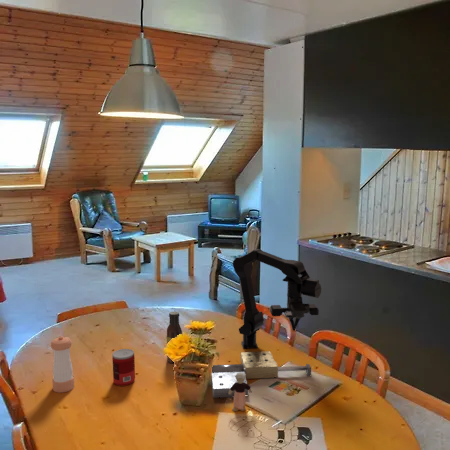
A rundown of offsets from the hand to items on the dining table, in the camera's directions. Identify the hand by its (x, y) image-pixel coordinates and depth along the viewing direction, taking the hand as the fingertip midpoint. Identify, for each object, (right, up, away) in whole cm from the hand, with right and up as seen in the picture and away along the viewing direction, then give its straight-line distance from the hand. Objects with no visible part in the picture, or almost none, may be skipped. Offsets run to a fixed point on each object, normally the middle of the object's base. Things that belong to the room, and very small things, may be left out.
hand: (293, 330), depth 190 cm
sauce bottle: (-48, -12, 0) cm, 50 cm away
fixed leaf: (-14, -15, -19) cm, 28 cm away
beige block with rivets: (-15, -13, -7) cm, 21 cm away
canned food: (-65, -15, -17) cm, 69 cm away
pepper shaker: (-85, -16, -22) cm, 89 cm away
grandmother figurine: (-23, -18, -35) cm, 46 cm away
